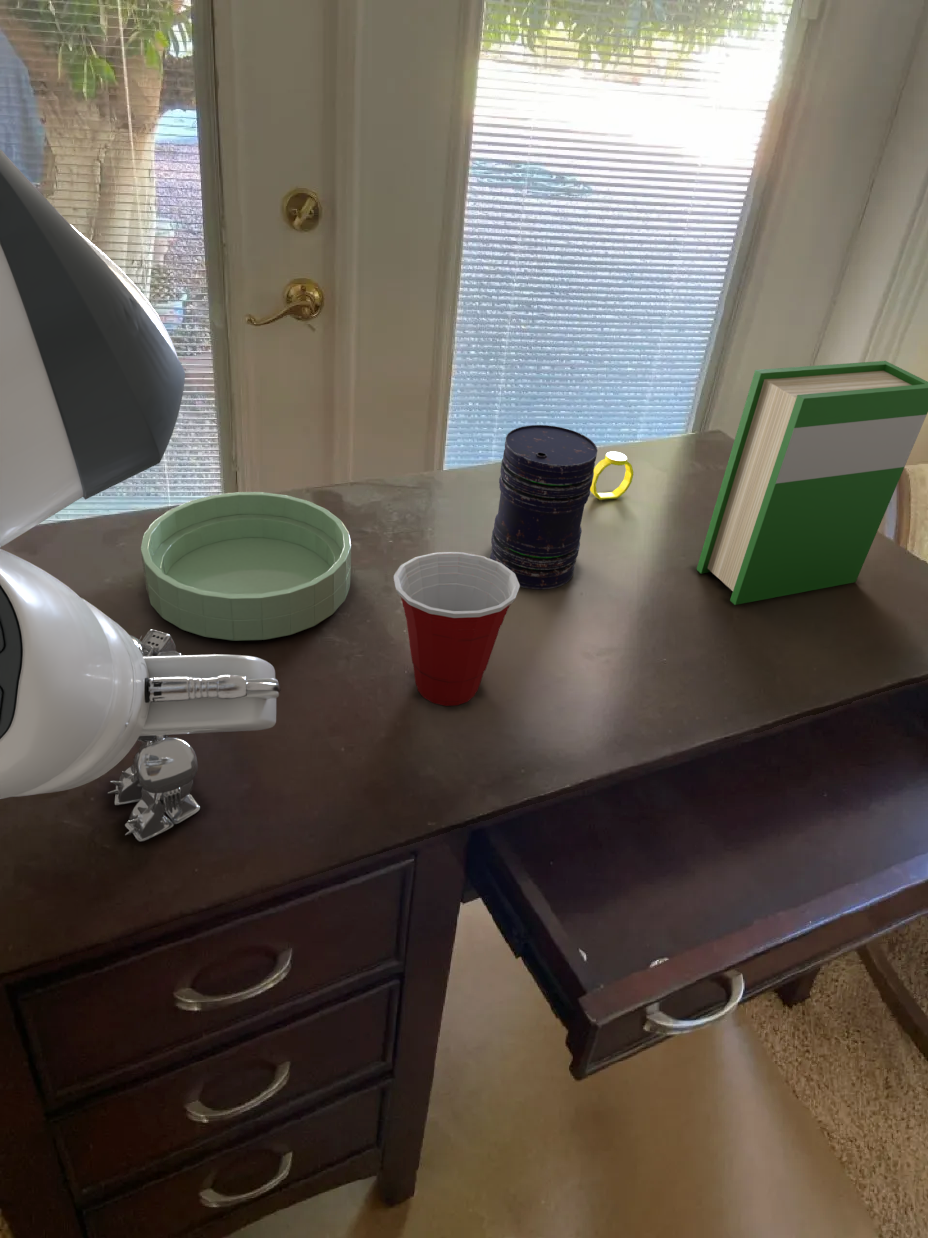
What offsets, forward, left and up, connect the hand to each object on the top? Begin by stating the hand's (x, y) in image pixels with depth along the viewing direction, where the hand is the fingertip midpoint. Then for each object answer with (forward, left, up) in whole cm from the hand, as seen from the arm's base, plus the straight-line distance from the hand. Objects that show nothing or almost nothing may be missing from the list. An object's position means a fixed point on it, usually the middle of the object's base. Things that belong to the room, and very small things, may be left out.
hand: (106, 709), depth 53 cm
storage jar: (+38, +39, -16) cm, 57 cm away
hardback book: (+67, +36, -16) cm, 78 cm away
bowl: (+7, +36, -16) cm, 40 cm away
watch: (+52, +55, -16) cm, 78 cm away
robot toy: (0, +8, -16) cm, 18 cm away
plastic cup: (+25, +19, -16) cm, 36 cm away
